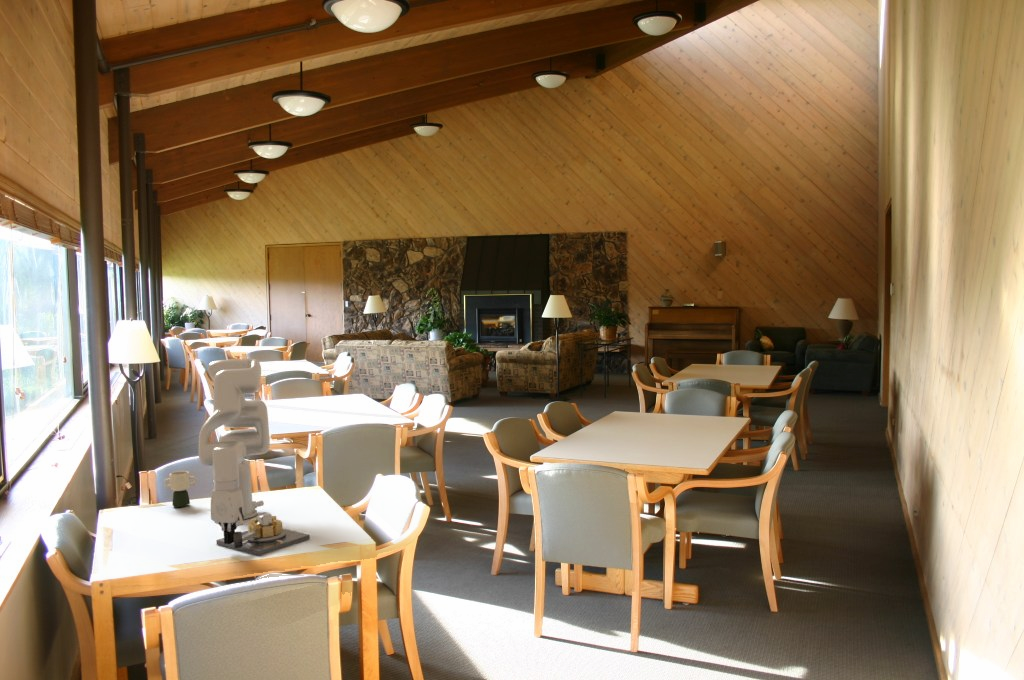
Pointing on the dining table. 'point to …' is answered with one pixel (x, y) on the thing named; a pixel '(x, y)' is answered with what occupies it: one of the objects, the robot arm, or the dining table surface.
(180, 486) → the character mug
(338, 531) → the dining table surface
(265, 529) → the knobbed lever handle
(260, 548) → the base plate
